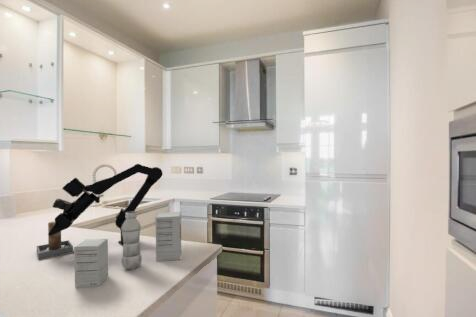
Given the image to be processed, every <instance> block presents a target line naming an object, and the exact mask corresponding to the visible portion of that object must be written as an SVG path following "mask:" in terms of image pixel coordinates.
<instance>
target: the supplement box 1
mask: <svg viewBox="0 0 476 317" xmlns="http://www.w3.org/2000/svg"><path fill="white" fill-rule="evenodd" d="M73 253H74V254H73V256H74V259H73V260H74V261H73V262H74V287H75V288H89V287H90V288H91V287H99V286H100V285H101V284H102V283H103V282H104V281H105V280H106V278H107V277H108V276H109V238H94V239H93V238H91V239H87V238H86V239H84V240H83V241H82V242H80V243H78V244H76V245H75V246H73Z"/></svg>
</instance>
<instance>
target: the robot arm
mask: <svg viewBox="0 0 476 317" xmlns="http://www.w3.org/2000/svg"><path fill="white" fill-rule="evenodd" d="M138 173H140V174H144V175H146V178H145V179H144V180H145V181H144V182H143V184H142V185H141V187H140V188H139V189H138V191H137V193H135V195H134V196H133V198H132V199H131V201H129V203H128V205H127V206H126V207H125V208H122V207H121V208H120V210H119V212H118V213H117V214H116V215H115V221H114V223H115V225H116V228H119V229H120V240H118V242H117V243H118V244H120V245H121V246H123V236H122V231H121V227H122V224H123V223H124V221H125V220H126V218H125V213H126V212H129V211H136V210H137V208H138V207H139V205H140V204H141V202H142V201H143V200H144V198H145V196H146V195H147V194H148V192H149V191H150V189H151V188H152V187H153V185H154V184H156V183H157V182H158V181H159V180H160V179H161V178H162V176H163V170H162V169H161V168H160V167H158V166H155V167H149V166H145V165H142V164H140V163H136V164H134V165H133V166H131V167H129V168H127V169H125V170H123V171H121V172H118V173H117V174H115V175H112V176H110V177H108V178H104V179H101V180H98V181H95V182H94V183H92V184H87V185H85V184H84V183H83V182H82V181H80V180H79V178H78V177H74V178H73V179H72V180H70V181H69V182H67V183H66V184H65V185H63V187H62V188H61V189H62V190H63V191H64V192H66V193H67V194H69V195H70V196H71V197H72V198H75V197H76V199H75V200H74V201H73V202H70V201H68V200H65V199H61V198H56V199H55V201H54V202H53V204H52V208H55V209H58V210H59V209H60V210H62V212H61V213H59V214H58V215H56V217H55V218H54V221H55V225H54V226H53V228H52V229H51V231H50V232H49V233H48V232H47V233H48V234H47V235H49V236H51V235H53V234H55V233H58V232H60V231H61V232H62V231H65V230H66V229H69V228H70V226H72V225H73V224H74V222H75V221H76V220H77V219H78V218H79V217H80V216H81V215H82V214H83V213H84V212H86V210H87V209H88V208H89V207H90V206H91V205H92V204H94V203H96V204H99V203H100V202H101V196H99V195H103V194H104V193H105V192H106V191H108V190H110V188H112V187H113V186H115V185H116V184H118V183H121V182H122V181H124V180H126V179H128V178H130V177H132V176H134V175H136V174H138ZM90 192H91V193H90Z"/></svg>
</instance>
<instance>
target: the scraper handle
mask: <svg viewBox="0 0 476 317" xmlns="http://www.w3.org/2000/svg"><path fill="white" fill-rule="evenodd" d="M54 225H55V220H54V221H49V222H48V224H47V228H48V229H47V231H48V232H47V233H49V232H50V231H51V229H52V228H53V226H54ZM47 235H48V234H47ZM61 242H62V231H60V232H58V233H55V234H53V235H51V236H49V235H48V243H47V244H49V247H48V248H47V249H46V250H45V251H44V252H46V251H51V250H56V249H61V248H65V245H61Z"/></svg>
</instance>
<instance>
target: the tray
mask: <svg viewBox="0 0 476 317" xmlns="http://www.w3.org/2000/svg"><path fill="white" fill-rule="evenodd" d="M61 245H65V248H61V249H56V250H51V251H46V252H44V251H45V250H46V249H47V248H48V247H49V244H48V243H47V244H42V245H36V254H37V259H38V260H43V259H48V258H53V257H58V256H62V255H66V254H71V253H74V245H73V244H72V242H71V241H70V240H69V239H68V240H63V241H62V240H61Z"/></svg>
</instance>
